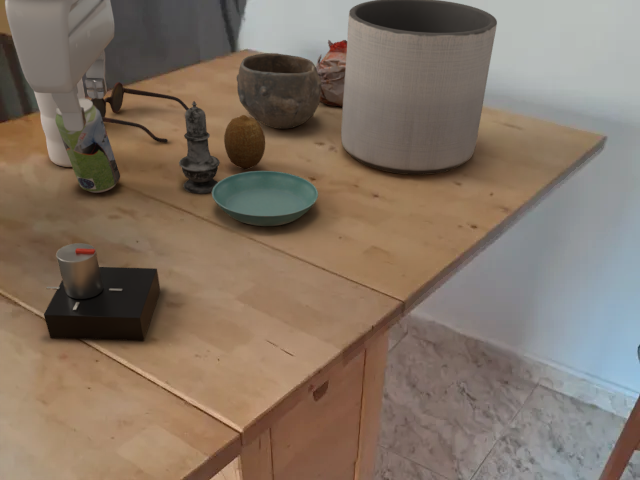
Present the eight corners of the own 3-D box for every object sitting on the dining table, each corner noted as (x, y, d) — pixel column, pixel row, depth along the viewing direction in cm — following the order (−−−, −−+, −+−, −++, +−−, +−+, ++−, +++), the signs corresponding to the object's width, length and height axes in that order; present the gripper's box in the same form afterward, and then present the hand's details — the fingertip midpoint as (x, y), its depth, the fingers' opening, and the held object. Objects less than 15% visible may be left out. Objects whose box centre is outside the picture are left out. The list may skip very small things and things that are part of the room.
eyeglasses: (125, 105, 126) (121, 76, 122) (201, 116, 123) (198, 86, 120) (84, 133, 115) (78, 102, 112) (166, 145, 113) (162, 113, 109)
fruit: (236, 157, 110) (234, 105, 105) (272, 164, 109) (271, 111, 103) (218, 172, 106) (215, 118, 100) (255, 179, 104) (253, 125, 99)
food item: (353, 111, 128) (357, 52, 121) (311, 107, 129) (312, 48, 122) (363, 88, 137) (367, 33, 131) (324, 84, 138) (326, 29, 132)
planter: (411, 119, 126) (426, -8, 112) (501, 160, 113) (530, 22, 99) (314, 143, 116) (317, 6, 102) (400, 191, 103) (417, 42, 89)
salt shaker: (228, 182, 103) (223, 98, 95) (208, 197, 99) (200, 111, 91) (195, 174, 105) (187, 91, 97) (173, 189, 101) (163, 103, 93)
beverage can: (130, 185, 101) (116, 100, 93) (92, 203, 97) (74, 114, 88) (100, 174, 104) (84, 90, 95) (62, 191, 99) (42, 103, 91)
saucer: (336, 220, 95) (337, 202, 93) (240, 243, 90) (239, 224, 88) (287, 180, 104) (287, 163, 103) (197, 198, 99) (195, 180, 97)
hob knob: (61, 298, 73) (50, 258, 70) (71, 279, 76) (61, 239, 73) (98, 299, 73) (89, 259, 70) (107, 280, 76) (99, 240, 73)
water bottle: (60, 172, 104) (15, -22, 87) (43, 156, 108) (-3, -32, 91) (104, 162, 107) (69, -27, 90) (86, 147, 111) (50, -37, 94)
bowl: (292, 145, 115) (292, 81, 108) (219, 125, 120) (215, 62, 113) (335, 121, 123) (337, 60, 117) (264, 103, 129) (263, 44, 122)
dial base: (39, 337, 73) (32, 313, 71) (65, 287, 81) (59, 263, 78) (144, 341, 73) (139, 316, 71) (160, 290, 81) (156, 267, 79)
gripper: (52, -69, 69) (81, 79, 78) (-20, -29, 54) (27, 148, 63) (115, -67, 69) (137, 81, 78) (61, -27, 54) (96, 150, 63)
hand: (87, 111), depth 71 cm, fingers open, 8 cm apart
